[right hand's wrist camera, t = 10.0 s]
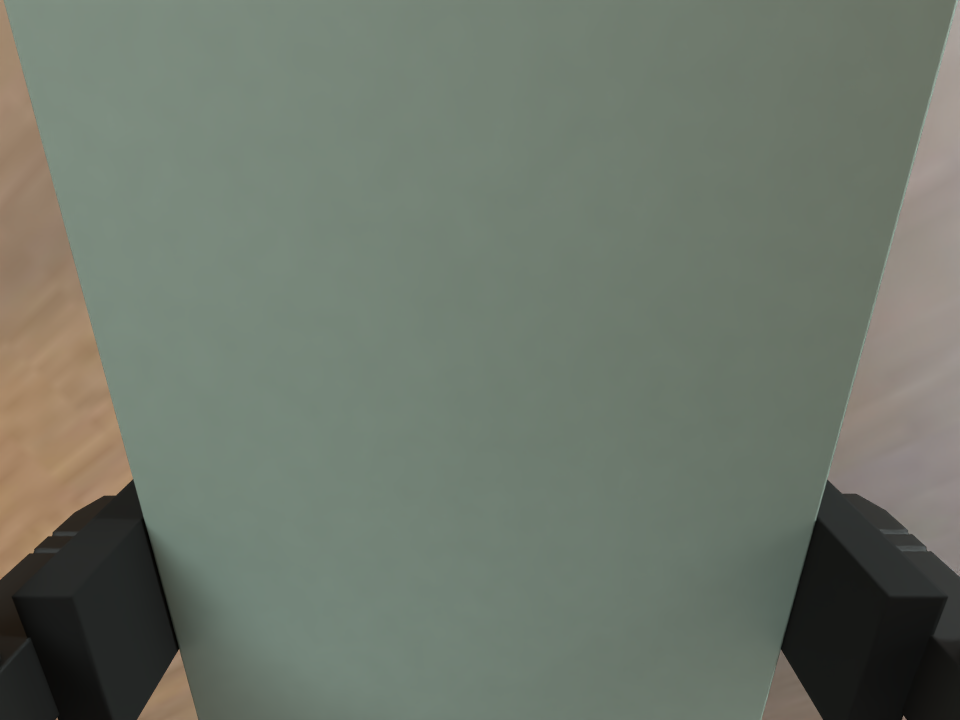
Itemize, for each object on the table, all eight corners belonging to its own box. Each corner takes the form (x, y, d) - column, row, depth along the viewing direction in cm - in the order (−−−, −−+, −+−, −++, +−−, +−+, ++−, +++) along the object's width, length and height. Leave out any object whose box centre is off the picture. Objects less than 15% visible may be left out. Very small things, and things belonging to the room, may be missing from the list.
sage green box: (282, -59, 14) (-125, -455, 5) (678, -58, 14) (1084, -452, 5) (340, 476, 20) (214, 786, 11) (619, 476, 20) (744, 786, 11)
